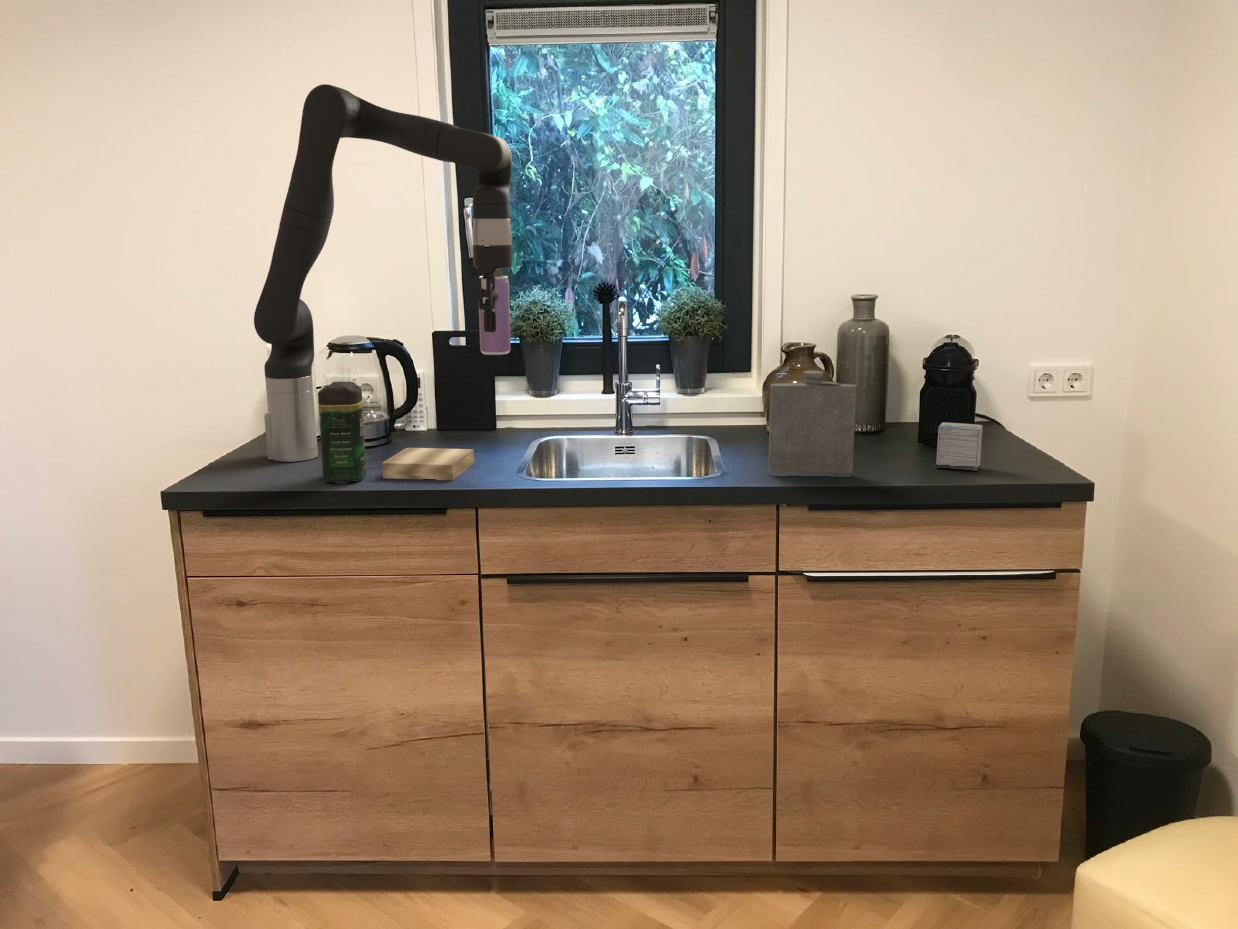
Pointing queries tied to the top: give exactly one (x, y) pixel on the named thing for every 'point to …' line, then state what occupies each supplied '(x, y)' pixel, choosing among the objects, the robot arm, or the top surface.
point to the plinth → (428, 463)
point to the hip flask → (811, 426)
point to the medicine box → (959, 444)
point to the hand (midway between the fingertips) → (494, 329)
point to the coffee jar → (342, 432)
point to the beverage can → (497, 322)
